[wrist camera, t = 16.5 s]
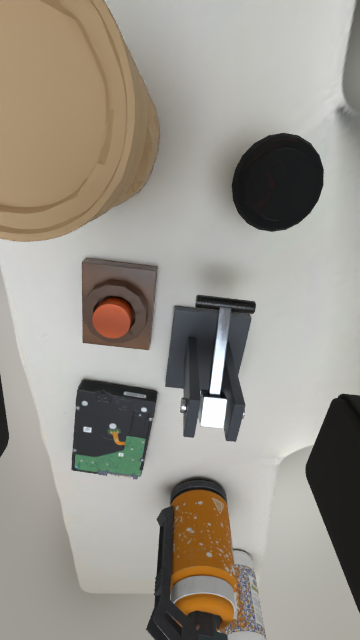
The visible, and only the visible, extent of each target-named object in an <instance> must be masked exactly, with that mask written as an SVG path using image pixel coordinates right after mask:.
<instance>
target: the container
mask: <svg viewBox="0 0 360 640" xmlns="http://www.w3.org/2000/svg"><path fill="white" fill-rule="evenodd" d="M158 145H159V122H158V117H157V112H156V109H155V106H154V104H153V101H152V99H151V97H150V95H149V93H148V90H147V87H146V85H145V83H144V81H143V79H142V77H141V75H140V73H139V71H138V69H137V67H136V64H135V62H134V60H133V58H132V55H131V53H130V51H129V49H128V47H127V45H126V43H125V42H124V39H123V37H122V35H121V32H120V30H119V28H118V25H117V23H116V21H115V19H114V17H113V16H112V14H111V12H110V10H109V8H108V6H107V5H106V3H105V1H104V0H0V238H1V239H6V240H11V241H21V242H29V241H41V240H48V239H52V238H56V237H60V236H62V235H65V234H68V233H70V232H72V231H74V230H76V229H78V228H80V227H81V226H83V225H85V224H86V223H88V222H90V221H92V220H94V219H95V218H97V217H99V216H101V215H102V214H104V213H106V212H107V211H108V210H109V209H111V208H112V207H115V206H117V205H119V204H121V203H123V202H125V201H127V200H128V199H130V198H131V197H132V196H134V195H135V194H136V193H138V192H139V191H140V190H141V189H142V188H143V186H144V185H145V183H146V181H147V180H148V178H149V177H150V174H151V172H152V169H153V166H154V163H155V159H156V155H157V150H158Z"/></svg>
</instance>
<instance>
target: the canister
mask: <svg viewBox="0 0 360 640" xmlns="http://www.w3.org/2000/svg"><path fill="white" fill-rule="evenodd" d="M157 521H158V523H159V525H160V534H159V549H158V563H157V576H156V578H155V580H156V581H155V584H156V585H155V593H154V595H155V606H154V610H153V612H152V615H151V618H150V620H149V623H148V626H147V629H146V630H147V631H148V632H149V633H150V634H151V636H152V637H153V638H154V639H155V640H168V638H169V640H228V636H227V634H224V633H219V632H217V631H218V630H221V629H224V628H225V627H227V626H228V625H229V624H230V623H231V622H232V620H233V617H234V613H235V600H234V593H235V592H236V589H237V579H236V571H235V563H234V555H233V547H232V539H231V531H230V523H229V515H228V507H227V498H226V494H225V492H224V490H223V489H222V488H221V487H220V486H218V485H216V484H214V483H212V482H209V481H203V480H194V481H188V482H185V483H183V484H181V485H179V486H178V487H176V488H175V489H174V491H173V492H172V494H171V501H170V507H168V508H166V509H163V510H162V511H161V513H160V514H159V516H158V518H157ZM170 594H171V600H170ZM171 616H172V617H173V618H172V617H171ZM158 627H159V628H160V629H161V630H160V629H159V628H158ZM163 633H164V634H165V635H166V636H167V637H168V638H167V637H166V636H165V635H164V634H163Z"/></svg>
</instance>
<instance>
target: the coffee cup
mask: <svg viewBox="0 0 360 640" xmlns="http://www.w3.org/2000/svg"><path fill="white" fill-rule="evenodd" d="M323 173H324V169H323V166H322V163H321V159H320V156H319V154H318V153H317V151H316V150H315V149H314V147H313V146H312V145H311V143H309V142H308V141H306V140H304V139H303V138H301V137H300V136H298V135H292V134H287V133H280V134H275V135H269V136H267V137H265V138H263V139H261V140H260V141H258V142H256V143H254V144H253V145H252V146H251V147H250V148H249V149H248V150H247V151H246V153H245V154H244V155H243V156H242V158H241V160H240V162H239V163H238V165H237V167H236V169H235V173H234V177H233V182H232V193H233V201H234V203H235V206H236V208H237V211H238V213H239V214H240V215H241V217H242V218H243V219H244V220H245V221H246V222H247V223H248V224H250V225H252V226H253V227H255V228H257V229H259V230H265V231H271V232H273V231H279V230H286V229H288V228H290V227H292V226H294V225H296V224H298V223H299V222H301V221H302V220H303V219H304V218H305V217H306V216H307V215H308V214H310V212H311V211H312V209H313V208H314V206H315V205H316V203H317V202H318V200H319V197H320V194H321V190H322V187H323Z"/></svg>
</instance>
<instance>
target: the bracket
mask: <svg viewBox="0 0 360 640" xmlns="http://www.w3.org/2000/svg"><path fill="white" fill-rule="evenodd" d="M217 314H218V311H215V310H207V309H198V308H189V307H181V306H175V310H174V318H173V327H172V335H171V343H170V351H169V359H168V367H167V376H166V385H165V387H173V388H183V389H184V398H182V399H181V407H180V412H181V413H184V429H183V436H184V437H192V438H194V435H195V429H196V424H197V418H198V413H199V408H200V402H201V397H200V390H202V389H203V390H208V386H209V378H210V370H211V362H212V354H213V346H214V338H215V330H216V322H217ZM250 323H251V317H250V315H249V314H241V313H233V312H231V316H230V324H229V332H228V339H227V347H226V355H225V363H224V371H223V379H222V387H221V391H222V392H224V394H225V396H226V398H227V407H226V414H225V422H224V431H225V438H226V441H234V442H236V440H237V436H238V432H239V428H240V424H241V420H242V419H243V418H244V414H245V402H244V398H243V394H242V390H241V386H240V382H239V378H238V373H239V369H240V365H241V361H242V356H243V352H244V348H245V344H246V339H247V335H248V331H249V327H250Z"/></svg>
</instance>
